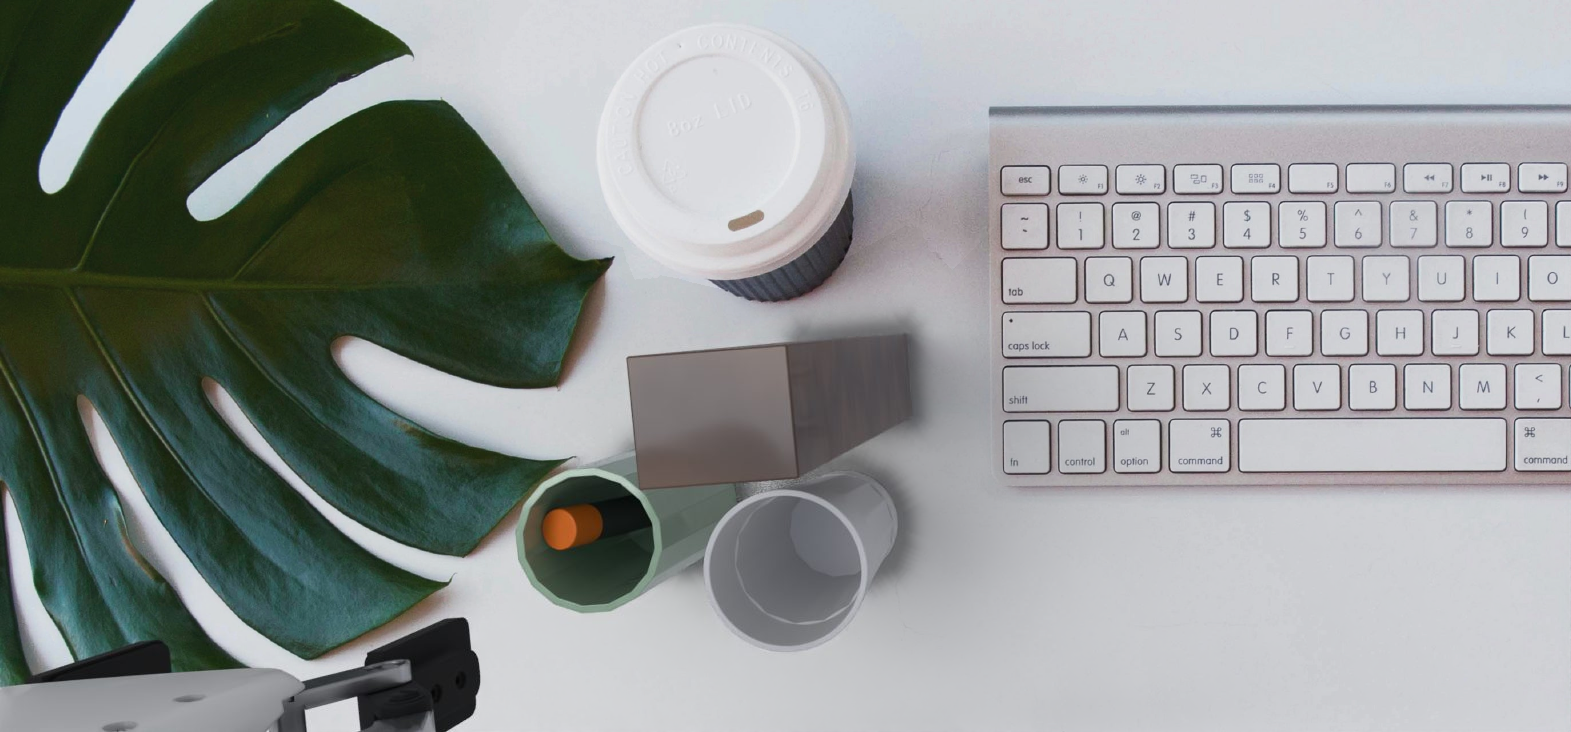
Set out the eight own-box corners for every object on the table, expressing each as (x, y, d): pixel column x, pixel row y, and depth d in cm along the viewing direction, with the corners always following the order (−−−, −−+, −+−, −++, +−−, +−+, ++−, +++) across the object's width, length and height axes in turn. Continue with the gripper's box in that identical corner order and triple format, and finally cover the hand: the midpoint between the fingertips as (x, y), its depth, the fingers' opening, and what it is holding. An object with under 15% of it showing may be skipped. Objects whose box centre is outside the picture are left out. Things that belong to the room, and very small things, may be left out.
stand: (913, 416, 64) (799, 478, 40) (812, 424, 64) (638, 491, 40) (906, 332, 63) (786, 344, 39) (805, 340, 64) (624, 356, 40)
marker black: (687, 521, 63) (577, 549, 54) (656, 522, 63) (542, 550, 55) (685, 485, 63) (574, 508, 54) (654, 487, 63) (539, 509, 55)
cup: (779, 590, 64) (705, 653, 52) (776, 457, 64) (700, 490, 52) (913, 588, 64) (869, 651, 52) (910, 455, 64) (865, 488, 52)
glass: (742, 557, 64) (668, 607, 53) (622, 565, 64) (523, 618, 53) (731, 437, 64) (654, 463, 53) (610, 446, 64) (508, 474, 53)
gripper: (-956, 1275, 18) (59, 809, 35) (88, 1202, 17) (591, 771, 35) (-1020, 824, 17) (35, 579, 34) (39, 746, 17) (570, 539, 34)
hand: (313, 675), depth 34 cm, fingers open, 9 cm apart
